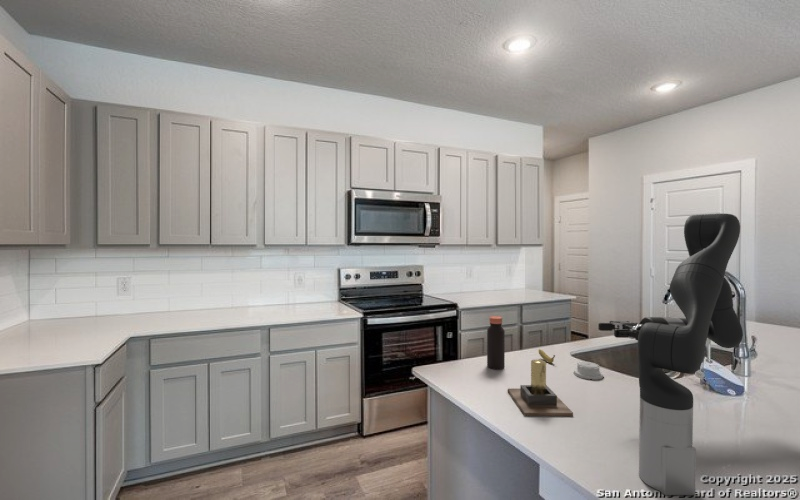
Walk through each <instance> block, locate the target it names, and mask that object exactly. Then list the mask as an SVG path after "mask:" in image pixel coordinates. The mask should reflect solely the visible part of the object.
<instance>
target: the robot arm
mask: <svg viewBox="0 0 800 500" xmlns="http://www.w3.org/2000/svg"><path fill="white" fill-rule="evenodd" d="M740 233H741V223H740V220H739V218H738V217H737V216H736V215H734V214H731V213H709V214H706V213H705V214H693V215H690V216H688V217H687V218H686V220H685V222H684V226H683V235H684V236H683V237H684V241H685V245H686V249H687V252H688V255H689V257H687V258H685V260H683V261H682V262H680V264H679V265H678V266H677V268H676V269H675V272H674V274H673V277H672V279H671V281H670V284H669V291H670V295H671V297H672V299H673V301H674V302H675V304H676V305H677V307H678V309H679V310H680V311H681V313H682V314H683V315H684V318H682V317H681V318H680V317H677V318H676V317H667V316H663V317H662V316H661V317H660V316H657V317H656V316H654V317H653V316H646V317H643V318H642V319H641V320H640V322H634V321H628V320H623V321H622V320H609V322H599V323H598V328H597V329H598V331H601V332H602V331H603V332H604V331H606V332H611V331H612V332H613V336H614V337H615V338H617V339H618V338H621V339H622V338H625V339H628V338H629V339H631V340H633V339H635V341H637V357H638V359H637V360H638V385H639V421H638V423H639V425H638V426H639V427H638V429H639V430H638V432H639V434H638V435H639V436H638V437H639V439H638V440H639V441H638V476H639V478H640V479H641V480H642V481H643V482H644V483H645V484H646V485H647V486H649V487H651V488H653V489H655V490H657V491H659V492H661V493H662V495H664V496H695V495H696V471H697V470H696V466H697V465H696V464H697V463H696V462H697V461H696V459H697V455H696V454H697V450H696V448H695V447H694V446H693V444H694V443H693V441H694V440H693V439H694V437H693V435H694V433H693V432H694V431H693V430H694V425H693V424H694V395H693V392H692V391H691V389H689V388H688V387H686V386H684V385H683V384H681V383H680V382H677V381H676V380H675V379H673V378H672V377H671V376H669V375H668V374H667V373H666V372H665V371H664V370H666V371H667V370H668V371H671V372H676V373H680V374H686V375H687V374H689V375H692V374H695V373H696V372H698V371H699V369H700V367H701V366H702V363H703V360H704V355H705V351H706V347H707V346H706V345H707V340H709V341H712V343H714V344H716V345H717V346H719V347H721V348H725V349H733V348H736V347H737V346H739V345H740V343H741V342H742V340H743V336H744V331H743V327H742V325H741V322H740V320H739V317H738V315H737V313H736V311H735V309H734V301H733V298H734V297H733V290H732V287H731V285H730V283H729V281H728V279H727V278H726V277H725V275H726V271H727V267H728V264H729V261H730V259H731V258H732V255H733V253H734V251H735V248H736V246H737V244H738V242H739V238H740Z"/></svg>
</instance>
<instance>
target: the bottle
mask: <svg viewBox="0 0 800 500" xmlns="http://www.w3.org/2000/svg"><path fill="white" fill-rule="evenodd" d="M489 325H490V326H489V327H488V328H487V330H486V351H487V352H486V366H487V367H488V369H493V370H502V369H504V368H505V362H506V361H505V354H506V353H505V342H506V340H505V337H506V334H505V329H504V328H503V327H502V325H503V317H502V316H498V315H497V316H495V315H493V316H489Z"/></svg>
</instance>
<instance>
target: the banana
mask: <svg viewBox="0 0 800 500" xmlns="http://www.w3.org/2000/svg"><path fill="white" fill-rule="evenodd" d="M538 354H539V356H540V357H541V358H542V359H543V361H545V362H546V363H548V364H552V363H554V359H555V357H556V355H555V354H553V357H550V356H549V355H548V354H547V353H546V352H545V351H543V349H540V348H539V349H538Z"/></svg>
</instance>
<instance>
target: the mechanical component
mask: <svg viewBox="0 0 800 500" xmlns="http://www.w3.org/2000/svg"><path fill="white" fill-rule="evenodd" d="M576 365H577V366H576V367H575V368H574V369H573V374H574V376H576V377H578V378H582V379H585V380H590V379H592V381H598V380H602V379H603V378H604V373H603V372H602V371H600V368H601V367H600V365H599V364H598V363H595V362H590V361H579V362H577V364H576Z"/></svg>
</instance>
